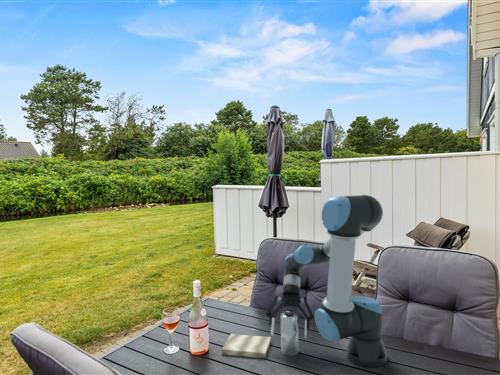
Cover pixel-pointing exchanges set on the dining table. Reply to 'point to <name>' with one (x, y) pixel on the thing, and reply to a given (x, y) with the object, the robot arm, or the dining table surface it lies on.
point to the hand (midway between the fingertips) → (288, 335)
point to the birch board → (247, 346)
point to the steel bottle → (289, 333)
